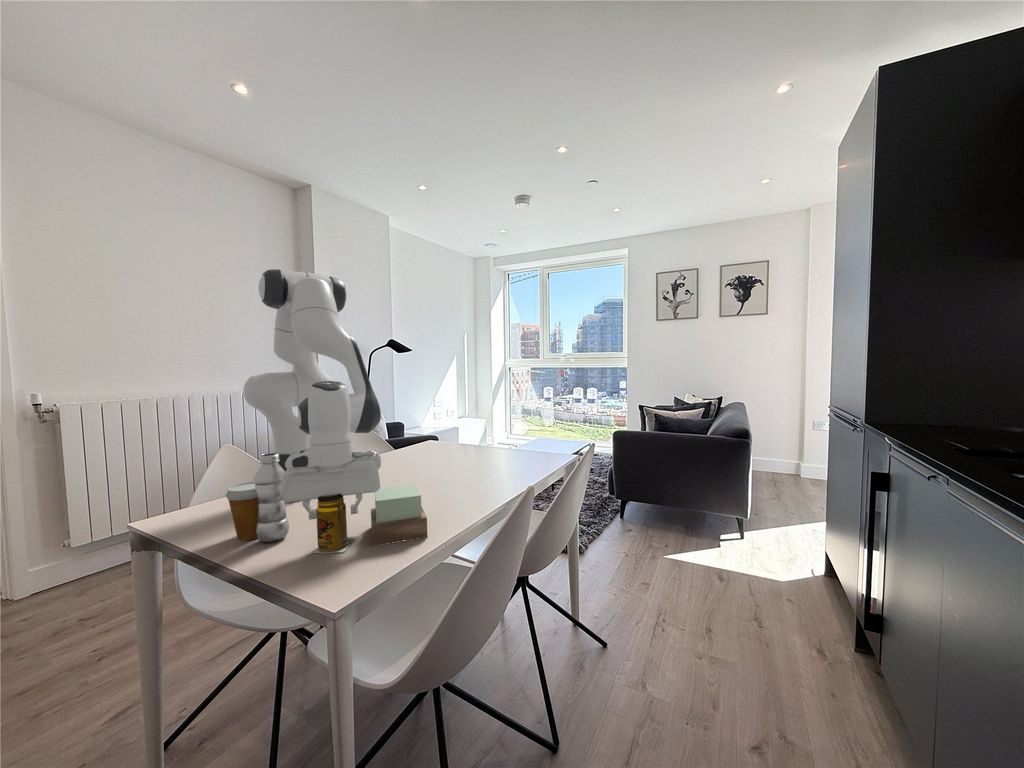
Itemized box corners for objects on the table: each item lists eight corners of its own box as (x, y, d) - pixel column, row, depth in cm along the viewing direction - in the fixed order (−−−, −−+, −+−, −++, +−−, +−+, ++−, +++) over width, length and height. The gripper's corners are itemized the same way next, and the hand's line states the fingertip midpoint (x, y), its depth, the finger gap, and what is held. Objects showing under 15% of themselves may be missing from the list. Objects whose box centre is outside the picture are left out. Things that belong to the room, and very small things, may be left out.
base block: (371, 528, 104) (370, 508, 103) (420, 521, 108) (419, 502, 107) (373, 547, 92) (372, 525, 92) (427, 538, 96) (426, 517, 96)
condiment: (309, 554, 89) (307, 498, 89) (327, 537, 98) (325, 487, 97) (343, 553, 89) (341, 498, 89) (358, 537, 98) (356, 486, 97)
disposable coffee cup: (281, 533, 100) (277, 484, 100) (235, 547, 93) (231, 494, 93) (268, 524, 107) (265, 478, 106) (224, 536, 100) (220, 487, 99)
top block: (375, 509, 103) (374, 489, 103) (416, 503, 106) (415, 484, 106) (376, 523, 94) (375, 501, 93) (421, 516, 97) (420, 495, 97)
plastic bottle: (293, 539, 97) (290, 454, 96) (260, 548, 92) (257, 459, 92) (284, 531, 102) (281, 450, 101) (252, 540, 97) (249, 455, 96)
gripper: (380, 447, 99) (382, 505, 100) (283, 455, 92) (285, 517, 93) (381, 452, 93) (383, 513, 94) (277, 461, 86) (280, 527, 87)
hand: (334, 515), depth 93 cm, fingers open, 7 cm apart
